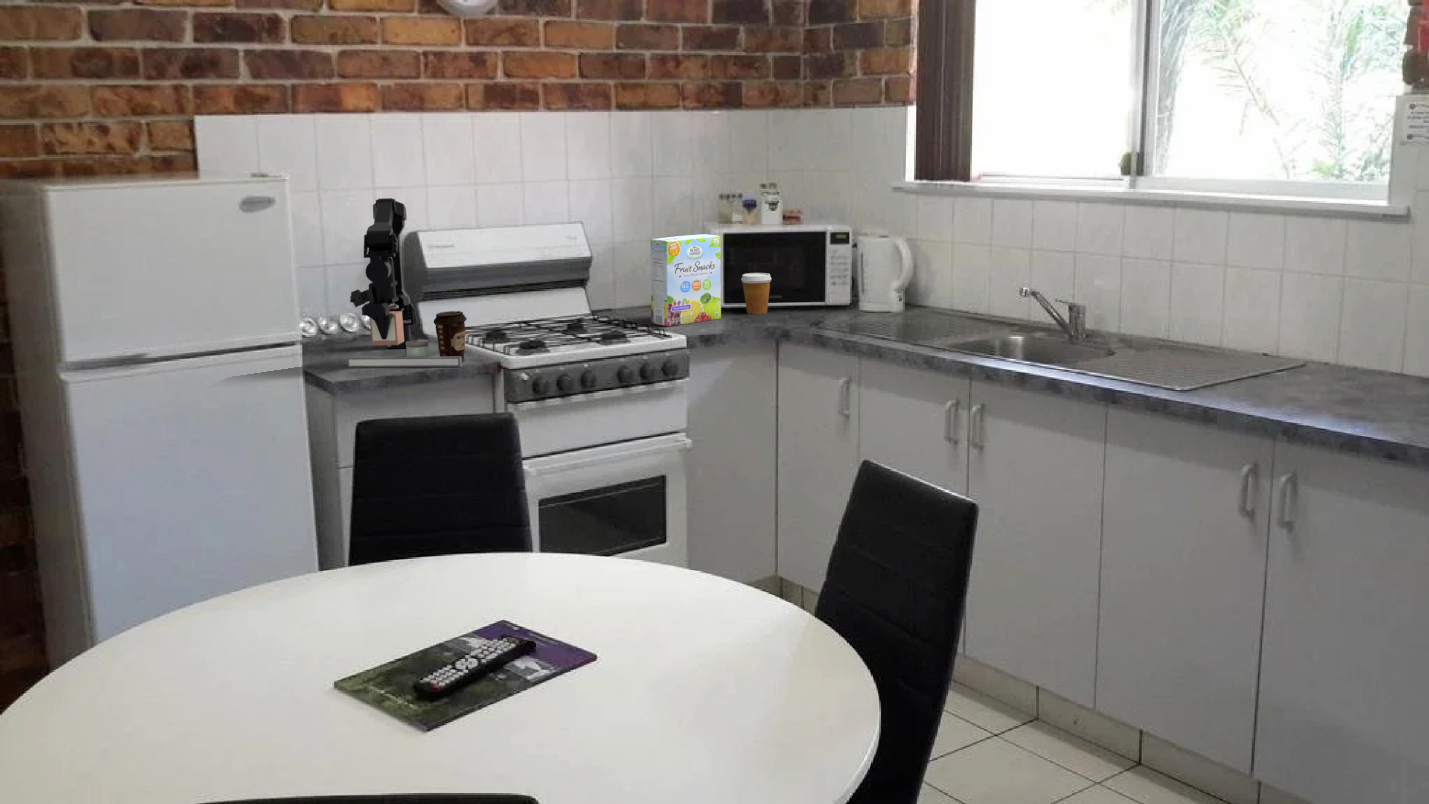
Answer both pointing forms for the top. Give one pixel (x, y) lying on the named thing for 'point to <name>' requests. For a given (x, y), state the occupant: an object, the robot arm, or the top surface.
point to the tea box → (394, 332)
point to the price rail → (405, 361)
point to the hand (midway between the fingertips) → (387, 337)
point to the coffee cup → (451, 333)
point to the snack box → (685, 279)
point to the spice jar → (417, 348)
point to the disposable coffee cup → (756, 292)
